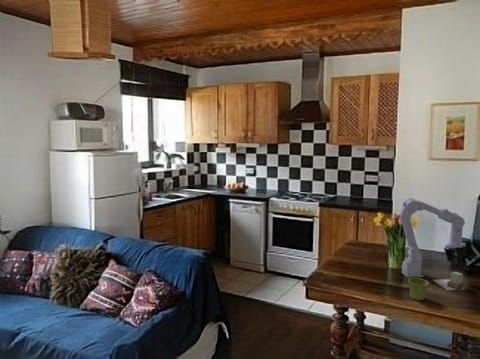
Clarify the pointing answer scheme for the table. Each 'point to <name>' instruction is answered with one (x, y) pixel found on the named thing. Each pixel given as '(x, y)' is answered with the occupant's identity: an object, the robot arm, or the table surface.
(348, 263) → the table surface
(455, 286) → the walnut block
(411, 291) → the plant pot
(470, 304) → the table surface
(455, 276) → the sage block
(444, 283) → the board
